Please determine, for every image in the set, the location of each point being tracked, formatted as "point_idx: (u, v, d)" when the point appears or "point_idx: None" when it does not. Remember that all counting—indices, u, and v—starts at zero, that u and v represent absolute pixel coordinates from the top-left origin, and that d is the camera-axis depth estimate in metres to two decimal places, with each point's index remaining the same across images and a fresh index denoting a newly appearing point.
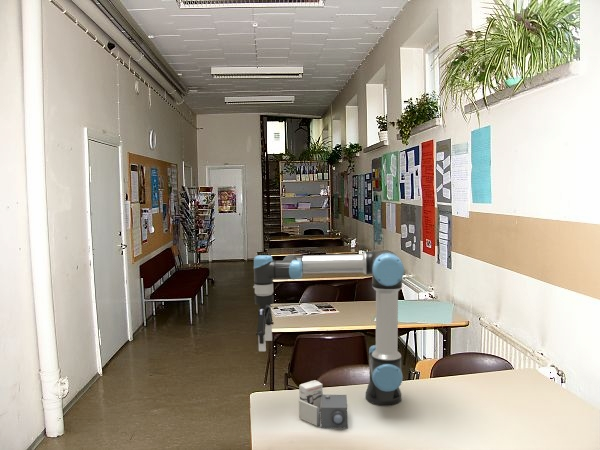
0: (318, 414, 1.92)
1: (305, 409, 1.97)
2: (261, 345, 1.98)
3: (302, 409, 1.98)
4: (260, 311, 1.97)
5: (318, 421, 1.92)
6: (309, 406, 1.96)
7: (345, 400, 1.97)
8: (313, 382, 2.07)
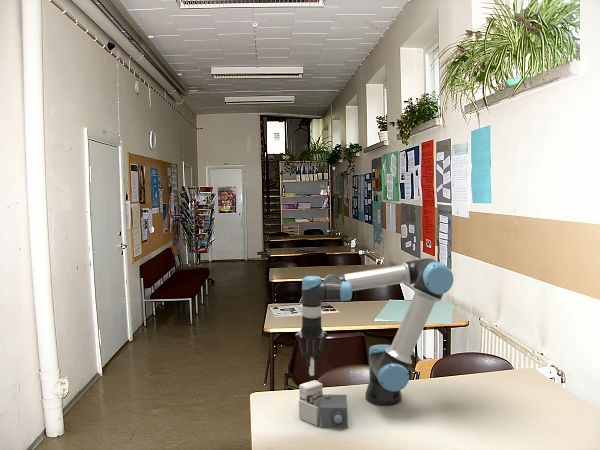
0: (318, 414, 1.92)
1: (305, 409, 1.97)
2: (309, 368, 2.01)
3: (302, 409, 1.98)
4: (296, 336, 1.99)
5: (318, 421, 1.92)
6: (309, 406, 1.96)
7: (345, 400, 1.97)
8: (313, 382, 2.07)
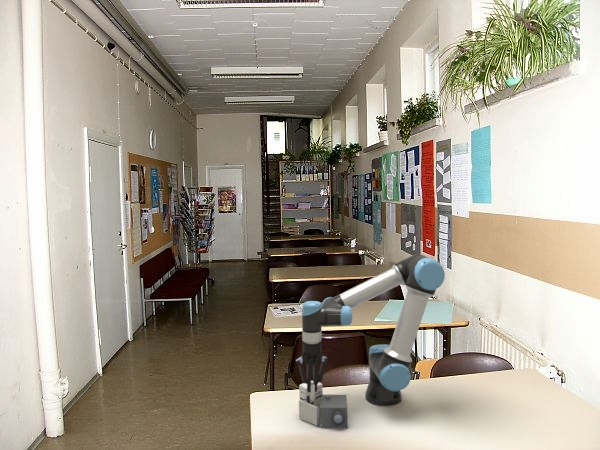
0: (318, 414, 1.92)
1: (305, 409, 1.97)
2: (310, 393, 2.00)
3: (302, 409, 1.98)
4: (296, 361, 1.98)
5: (318, 421, 1.92)
6: (309, 406, 1.96)
7: (345, 400, 1.97)
8: None
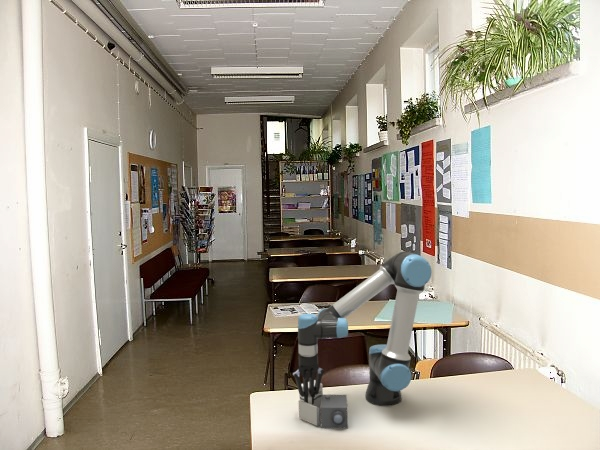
0: (318, 414, 1.92)
1: (305, 409, 1.97)
2: None
3: (302, 409, 1.98)
4: (293, 375, 1.97)
5: (318, 421, 1.92)
6: (308, 406, 1.95)
7: (345, 400, 1.97)
8: None
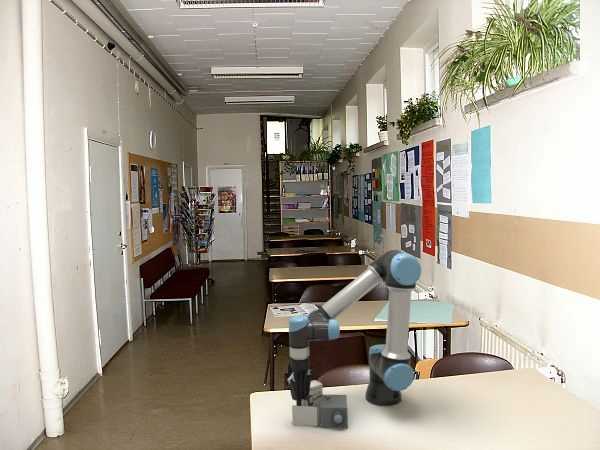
0: (319, 414, 1.92)
1: (301, 413, 1.94)
2: None
3: (297, 414, 1.94)
4: (288, 381, 1.92)
5: (319, 421, 1.92)
6: (306, 408, 1.93)
7: (345, 400, 1.97)
8: (313, 382, 2.07)
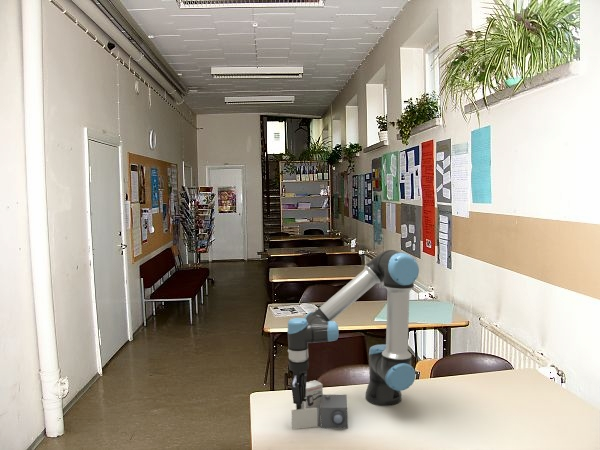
0: (319, 414, 1.92)
1: (301, 416, 1.91)
2: None
3: (297, 418, 1.91)
4: (293, 385, 1.89)
5: (319, 421, 1.93)
6: (306, 410, 1.91)
7: (345, 400, 1.97)
8: (313, 382, 2.07)
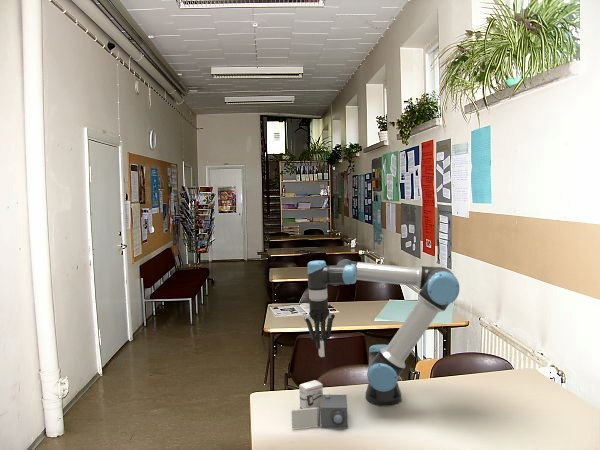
0: (319, 414, 1.92)
1: (301, 416, 1.91)
2: (319, 350, 2.07)
3: (297, 418, 1.91)
4: (305, 320, 2.04)
5: (319, 421, 1.93)
6: (306, 410, 1.91)
7: (345, 400, 1.97)
8: (313, 382, 2.07)
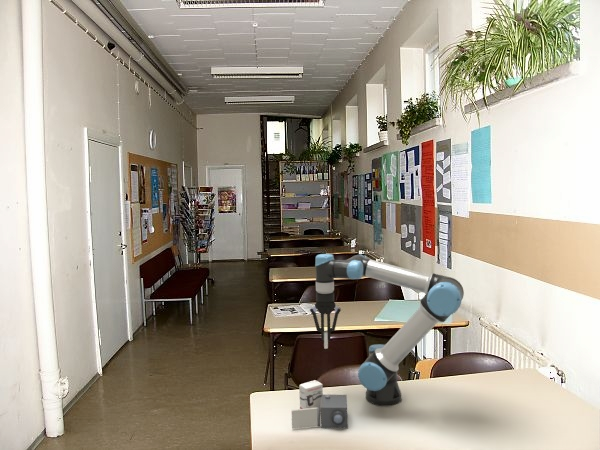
0: (319, 414, 1.92)
1: (301, 416, 1.91)
2: None
3: (297, 418, 1.91)
4: None
5: (319, 421, 1.93)
6: (306, 410, 1.91)
7: (345, 400, 1.97)
8: (313, 382, 2.07)
